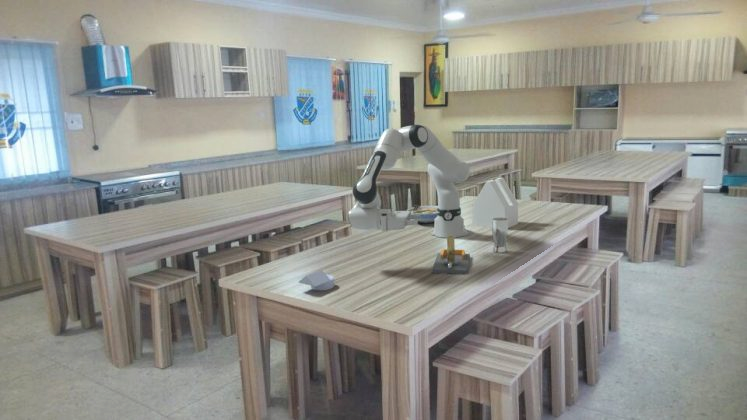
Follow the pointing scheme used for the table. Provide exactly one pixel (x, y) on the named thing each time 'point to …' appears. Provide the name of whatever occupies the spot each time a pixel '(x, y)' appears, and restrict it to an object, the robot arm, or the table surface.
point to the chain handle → (450, 253)
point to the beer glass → (500, 234)
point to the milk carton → (495, 204)
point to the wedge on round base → (319, 281)
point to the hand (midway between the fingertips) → (418, 219)
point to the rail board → (455, 269)
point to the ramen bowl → (425, 213)
